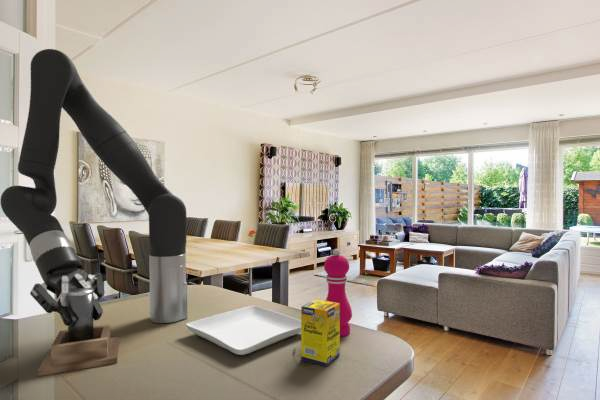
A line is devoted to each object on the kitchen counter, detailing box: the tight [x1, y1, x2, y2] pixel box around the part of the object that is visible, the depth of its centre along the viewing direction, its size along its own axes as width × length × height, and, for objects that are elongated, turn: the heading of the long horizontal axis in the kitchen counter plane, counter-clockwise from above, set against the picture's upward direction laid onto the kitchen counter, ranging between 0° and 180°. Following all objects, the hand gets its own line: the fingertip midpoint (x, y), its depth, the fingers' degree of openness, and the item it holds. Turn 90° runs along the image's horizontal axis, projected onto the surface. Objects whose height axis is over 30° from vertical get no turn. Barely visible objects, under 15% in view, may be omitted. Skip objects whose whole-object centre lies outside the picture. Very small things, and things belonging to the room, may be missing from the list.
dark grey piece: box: [67, 287, 94, 343], centre depth 76 cm, size 4×4×10 cm
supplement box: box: [300, 298, 341, 367], centre depth 75 cm, size 6×6×11 cm
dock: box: [37, 323, 120, 377], centre depth 76 cm, size 13×12×4 cm
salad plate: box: [185, 305, 301, 356], centre depth 87 cm, size 21×21×3 cm
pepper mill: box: [323, 248, 353, 338], centre depth 89 cm, size 7×7×20 cm
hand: (86, 321), depth 75 cm, fingers closed on dark grey piece, 4 cm apart
